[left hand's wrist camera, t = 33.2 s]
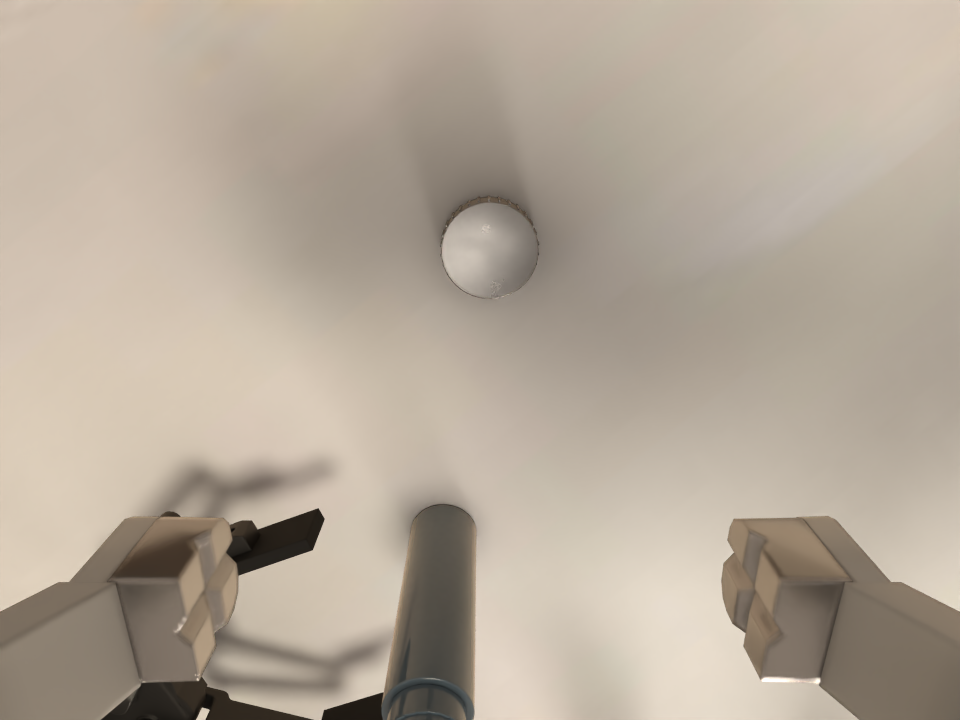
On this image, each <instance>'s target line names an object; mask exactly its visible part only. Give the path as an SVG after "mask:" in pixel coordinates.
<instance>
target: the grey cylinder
mask: <svg viewBox="0 0 960 720" xmlns="http://www.w3.org/2000/svg"><path fill="white" fill-rule="evenodd" d="M475 610H476V527H475V524H474V522H473V520H472V518H471V517H470V516H469V515H468V514H467V513H466V512H465V511H463V510H462V509H460V508H457V507H455V506H451V505H435V506H432V507H429V508H427V509H425V510H423V511H422V512H421V513H419V514H418V515H417V517H416V518H415V519H414V521H413V523H412V527H411V533H410V539H409V545H408V550H407V556H406V562H405V568H404V574H403V580H402V586H401V592H400V598H399V604H398V610H397V616H396V622H395V628H394V634H393V640H392V646H391V652H390V658H389V664H388V670H387V676H386V682H385V688H384V694H383V700H382V706H381V714H382V718H383V720H473V719H474V703H475Z"/></svg>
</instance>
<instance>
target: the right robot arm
mask: <svg viewBox="0 0 960 720" xmlns="http://www.w3.org/2000/svg"><path fill="white" fill-rule="evenodd" d="M160 517H180V516H179V515H178V514H177V513H175V512H170V511H169V512H165V513H163V514H162V515H161V516H160ZM323 522H324V517H323V515H322V514H321V512H320V510H319V508H318V509H315V510H312V511H310V512H307V513H304V514H301V515H298V516H295V517H292V518H290V519H287V520H284V521H281V522H278V523H275V524H272V525H270V526H267V527H264V528H261V529H257V528H256V526H255V525H254V523H253V521H240V522H237V523H234V524H231V525H230V530H231V535H232V540H233V541H232V542H231V544H230V546H229V548H228V549H227V551H226V553H227V554H228V555H229V556H230V557H231V558H232V559H233V560H234V561H235V562H236V564H237V570H238V575H241V574H244V573H247V572H250V571H253V570H256V569H259V568H262V567H265V566H268V565H271V564H274V563H276V562H279V561H282V560H285V559H288V558H291V557H294V556H297V555H300V554H303V553H306V552H309V551H312V550H313V548H314V545H315V543H316V540H317V538H318V535H319V532H320V530H321V527H322V525H323ZM383 694H384V692H383V693H380V694H376V695H373V696H370V697H366V698H363V699H360V700H356V701H353V702H350V703H347V704H343V705H340V706H337V707H333V708H330V709H327V710H324V713H323V717H322V720H383V718H382V714H381V706H382V700H383ZM202 707H203V708H207V709H209V710H210V711H209V713H208V716H207V718H206V720H312V719H308V718H304V717H299V716H295V715H291V714H287V713H283V712H279V711H274V710H270V709H266V708H262V707H258V706H254V705H249V704H245V703H241V702H237V701H233V700H230V699H229V696H228V694H227V692H225V691H222V690H218V689H214V688H210V687H207V683H206V682H205V681H204V679H203V678H202V677H201V678H200V680H199V681H182V682H148V683H141V686H140V687H139V688H138V689H137V690H135V691H134V692H133V693H132V694H131V695H129V696H128V697H127V698H126V699H125V700H123V701H122V702H121V703H120V704H119V705H118V706H116V707H115V708H114V709H113V710H112V711H110V712H109V713H108V714H107V715H106V716H105V717H103V718H102V719H101V720H196V719H197V717H198V715H199V712H200V710H201V708H202Z"/></svg>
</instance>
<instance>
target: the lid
mask: <svg viewBox="0 0 960 720" xmlns="http://www.w3.org/2000/svg"><path fill="white" fill-rule="evenodd" d="M532 226H533V223H532V221H531V219H528V217H527V214H526V212H525V211H524V212H523V211H522V210H521V209H520V208H519V206H518V205H517V204H516V205H514V204H513V203H511V202H510V200H504V199H501V198H500V197H498V198H496V197H490V196H488V197H483V198H480V197H478V199H475V200H472V201H470V200H469V201H468V203H466V204H464V205H463V206H460V207H459V209H458V210H457V211H456V212H455V213H454V212H453V213H452V217H451V219H450V220H449V221H447V223H446V229H445V230H443V234H442V237H443V239H442V241H441V244H440V247H441V257H442V262H443V267H444V268H445V271H446V272H447V275H448V276H449V278H450V279H451V280H452V282H453V283H454V284H455V285H456V286H457V287H459V288H460V289H461V290H463V291H464V292H466V293H468V294H470V295H472V296H475V297H479V298H485V299H493V298H500V297H504V296H507V295H509V294H511V293H513V292H515V291H517V290H518V289H520V288H521V287H522V286H523V285H524V284H525V283H526V282H527V281H528V279H529V278H530V277H531V275H532V273H533V271H534V269H535V266H536V265H537V259H538V255H539V252H538V245H539V242H538V240H537V237H536V235H537V232H536V230H535V228H533V227H532Z"/></svg>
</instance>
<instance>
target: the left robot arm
mask: <svg viewBox="0 0 960 720" xmlns="http://www.w3.org/2000/svg"><path fill="white" fill-rule="evenodd" d="M232 541H233V540H232V535H231V530H230V525H229V522H227V521H226V520H225V519H224V518H203V517H130V518H127V519H125V520H124V521H123V522H122V523H121V524H120V525H119V526H118V527H117V528H116V530H115V531H114V532H113V533H112V534H111V535H110V536H109V537H108V539H107V540H106V541H105V542H104V543H103V544H102V545H101V547H100V548H99V549H98V550H97V551H96V552H95V553H94V554H93V556H92V557H91V558H90V559H89V560H88V561H87V562H86V563H85V565H84V566H83V567H82V568H81V569H80V570H79V571H78V573H77V574H76V575H75V576H74V577H73V578H72V579H71V580H70V582H58V583H56V584H54V585H52V586H50V587H48V588H46V589H44V590H42V591H41V592H39V593H37V594H35V595H33V596H31V597H29V598H27V599H25V600H23V601H21V602H19V603H17V604H15V605H13V606H11V607H9V608H7V609H5V610H3V611H1V612H0V720H101V719H102V718H103V717H105V716H106V715H107V714H108V713H109V712H110V711H112V710H113V709H114V708H115V707H116V706H118V705H119V704H120V703H121V702H122V701H123V700H125V699H126V698H127V697H128V696H129V695H131V694H132V693H133V692H134V691H135V690H137V689H138V688H139V687H140V686H141V683H148V682H182V681H199V680H200V678H201V676H202V674H203V672H204V670H205V668H206V666H207V664H208V662H209V660H210V658H211V656H212V654H213V652H214V650H215V648H216V640H215V634H214V633H215V632H217V631H218V630H219V629H221V628H222V627H224V626H225V625H226V624H228V622H229V619H230V617H231V615H232V613H233V611H234V608H235V603H236V599H237V594H238V570H237V564H236V562H235V561H234V560H233V559H232V558H231V557H230V556H229V555H228V554H227V553H226V551H227V549H228V548H229V546H230V544H231V542H232ZM727 541H728V542H729V544H730V546H731V548H732V549H733V551H734V553H733V554H732V555H731V556H730V557H729V558H728V559H727V560H726V561H725V562H724V564H723V572H722V580H721V583H722V594H723V600H724V604H725V607H726V611H727V613H728V615H729V617H730V619H731V622H732V624H734V625H735V626H736V627H738V628H739V629H741V630H742V631H743V632H745V633H746V634H745V640H744V648H745V650H746V652H747V654H748V656H749V658H750V660H751V662H752V664H753V666H754V668H755V670H756V672H757V674H758V676H759V678H760V680H761V681H777V682H812V683H819V686H820V687H821V688H823V689H824V690H825V691H826V692H827V693H829V694H830V695H831V696H832V697H833V698H834V699H836V700H837V701H838V702H839V703H840V704H842V705H843V706H844V707H845V708H846V709H847V710H849V711H850V712H851V713H852V714H853V715H855V716H856V717H857V718H858V719H859V720H960V612H959V611H957V610H955V609H953V608H951V607H949V606H947V605H945V604H943V603H941V602H939V601H937V600H935V599H933V598H931V597H929V596H927V595H925V594H923V593H921V592H919V591H917V590H915V589H914V588H912V587H910V586H908V585H906V584H904V583H902V582H890V580H889V579H888V578H887V577H886V576H885V575H884V574H883V573H882V571H881V570H880V569H879V568H878V567H877V566H876V565H875V563H874V562H873V561H872V560H871V559H870V558H869V557H868V556H867V554H866V553H865V552H864V551H863V550H862V549H861V548H860V547H859V545H858V544H857V543H856V542H855V541H854V540H853V539H852V537H851V536H850V535H849V534H848V533H847V532H846V531H845V530H844V528H843V527H842V526H841V525H840V524H839V523H838V522H837V521H836V520H835V519H833V518H831V517H829V516H816V517H796V518H750V519H734V520H733V522H732V524H731V526H730V529H729V534H728V540H727Z"/></svg>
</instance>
